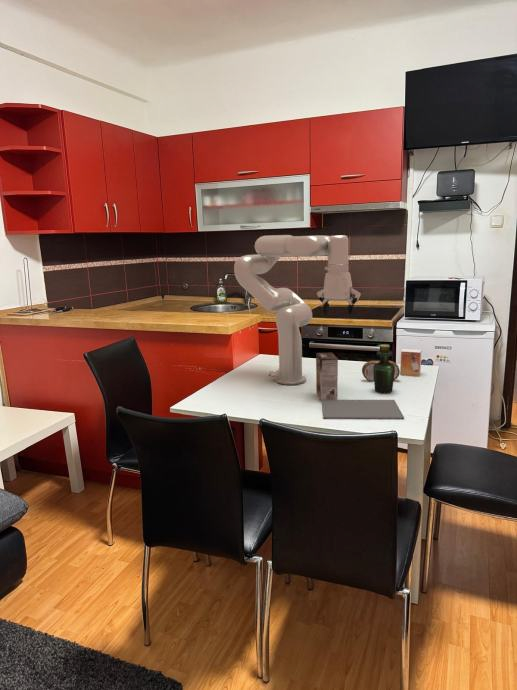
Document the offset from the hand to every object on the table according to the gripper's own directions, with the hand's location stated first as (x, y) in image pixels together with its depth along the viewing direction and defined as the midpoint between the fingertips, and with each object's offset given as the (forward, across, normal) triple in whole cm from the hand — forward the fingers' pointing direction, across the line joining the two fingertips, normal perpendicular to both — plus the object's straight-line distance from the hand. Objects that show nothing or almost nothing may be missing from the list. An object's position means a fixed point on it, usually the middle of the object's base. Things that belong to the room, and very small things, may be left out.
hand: (338, 314), depth 186 cm
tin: (+30, +10, +19) cm, 37 cm away
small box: (+30, +18, +34) cm, 49 cm away
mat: (+30, +16, -18) cm, 38 cm away
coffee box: (+30, -1, -10) cm, 32 cm away
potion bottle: (+30, +16, +6) cm, 35 cm away
